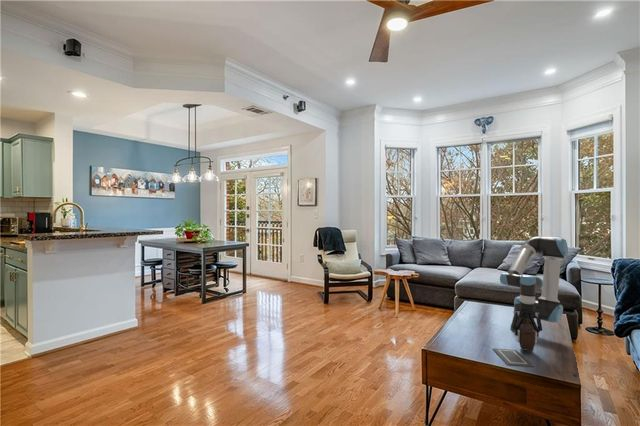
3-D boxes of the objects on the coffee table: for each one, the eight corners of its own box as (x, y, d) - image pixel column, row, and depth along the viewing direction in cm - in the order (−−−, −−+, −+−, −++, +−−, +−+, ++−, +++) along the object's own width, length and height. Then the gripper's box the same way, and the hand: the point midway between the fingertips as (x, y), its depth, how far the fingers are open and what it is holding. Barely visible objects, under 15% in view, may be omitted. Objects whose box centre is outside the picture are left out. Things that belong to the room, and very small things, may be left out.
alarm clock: (517, 345, 201) (518, 312, 201) (532, 347, 198) (532, 313, 197) (519, 354, 188) (520, 318, 188) (534, 357, 185) (535, 320, 185)
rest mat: (516, 351, 192) (516, 349, 192) (533, 367, 173) (533, 365, 173) (492, 349, 194) (492, 348, 194) (507, 365, 174) (507, 363, 174)
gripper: (543, 301, 195) (542, 340, 195) (504, 299, 198) (503, 338, 198) (550, 305, 187) (549, 345, 188) (510, 303, 190) (509, 342, 190)
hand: (526, 341), depth 193 cm, fingers closed on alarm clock, 8 cm apart
